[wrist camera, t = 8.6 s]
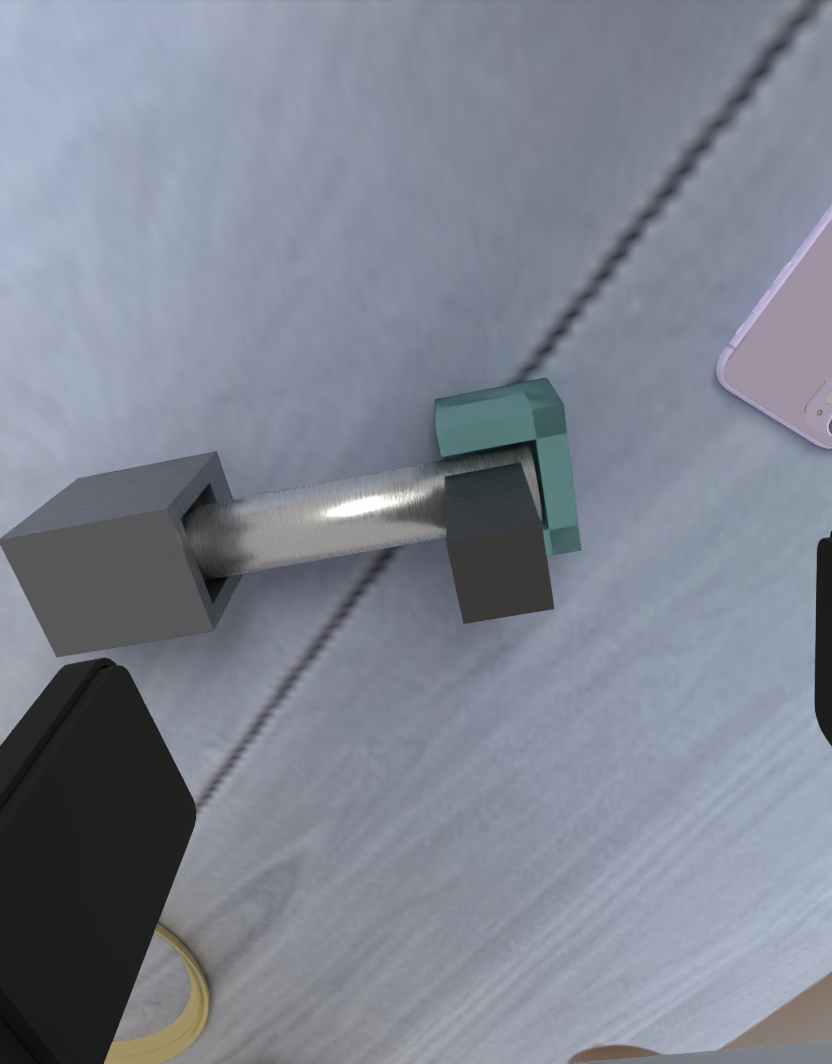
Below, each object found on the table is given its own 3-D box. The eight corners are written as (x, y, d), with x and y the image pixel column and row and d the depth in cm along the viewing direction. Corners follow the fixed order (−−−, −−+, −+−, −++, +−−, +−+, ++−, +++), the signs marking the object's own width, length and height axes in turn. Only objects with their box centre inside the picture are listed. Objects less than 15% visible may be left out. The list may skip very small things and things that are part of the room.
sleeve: (216, 451, 33) (166, 508, 27) (252, 556, 35) (213, 631, 29) (77, 478, 34) (-2, 540, 28) (121, 579, 36) (56, 657, 30)
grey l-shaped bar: (524, 434, 30) (558, 520, 22) (534, 502, 31) (570, 609, 23) (126, 509, 32) (19, 615, 24) (151, 571, 33) (58, 692, 25)
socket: (546, 377, 31) (563, 403, 27) (563, 508, 34) (581, 550, 30) (435, 399, 32) (435, 428, 28) (460, 526, 34) (464, 570, 30)
